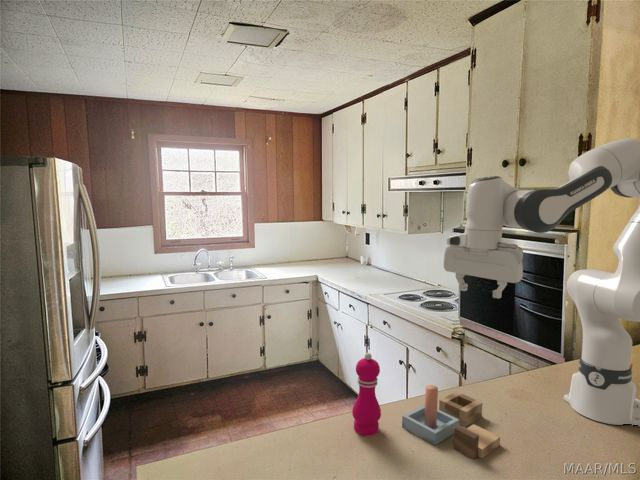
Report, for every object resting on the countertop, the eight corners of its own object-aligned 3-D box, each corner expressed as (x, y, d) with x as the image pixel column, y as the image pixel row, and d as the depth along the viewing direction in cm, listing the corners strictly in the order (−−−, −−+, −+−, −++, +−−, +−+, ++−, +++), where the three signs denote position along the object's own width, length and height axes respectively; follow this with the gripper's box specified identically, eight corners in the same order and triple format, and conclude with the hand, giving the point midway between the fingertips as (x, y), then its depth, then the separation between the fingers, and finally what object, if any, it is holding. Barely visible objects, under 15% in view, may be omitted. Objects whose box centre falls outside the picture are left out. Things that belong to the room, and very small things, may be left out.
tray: (426, 414, 113) (426, 403, 113) (458, 430, 106) (459, 419, 105) (402, 426, 107) (402, 415, 107) (434, 445, 99) (435, 433, 99)
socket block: (455, 404, 119) (456, 391, 118) (481, 416, 113) (482, 402, 112) (438, 413, 114) (439, 399, 113) (465, 426, 108) (466, 412, 107)
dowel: (429, 420, 108) (430, 383, 107) (438, 425, 106) (440, 388, 105) (421, 424, 106) (423, 387, 105) (431, 429, 104) (433, 391, 103)
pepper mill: (379, 438, 102) (382, 360, 99) (350, 435, 103) (351, 357, 101) (381, 423, 109) (383, 349, 106) (353, 419, 110) (355, 346, 108)
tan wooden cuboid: (473, 433, 105) (473, 424, 105) (499, 446, 100) (500, 436, 100) (454, 445, 100) (455, 435, 100) (481, 459, 95) (482, 449, 95)
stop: (458, 445, 100) (459, 425, 99) (477, 455, 96) (479, 435, 95) (453, 448, 98) (454, 428, 98) (473, 459, 94) (474, 438, 94)
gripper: (529, 244, 100) (525, 300, 102) (454, 236, 116) (452, 285, 117) (517, 245, 96) (513, 304, 98) (441, 237, 112) (439, 288, 113)
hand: (479, 293), depth 108 cm, fingers open, 8 cm apart
